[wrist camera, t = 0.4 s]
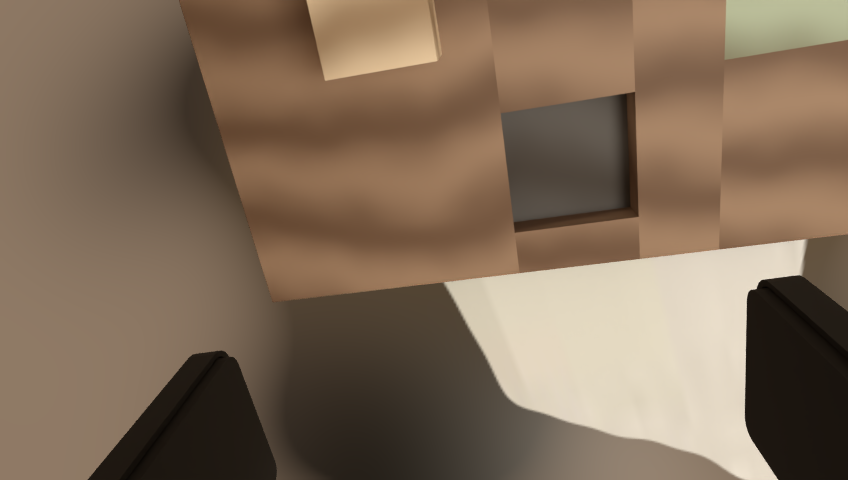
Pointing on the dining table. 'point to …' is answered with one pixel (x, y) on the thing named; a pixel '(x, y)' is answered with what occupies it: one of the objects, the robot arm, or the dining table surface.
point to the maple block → (373, 35)
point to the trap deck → (530, 137)
